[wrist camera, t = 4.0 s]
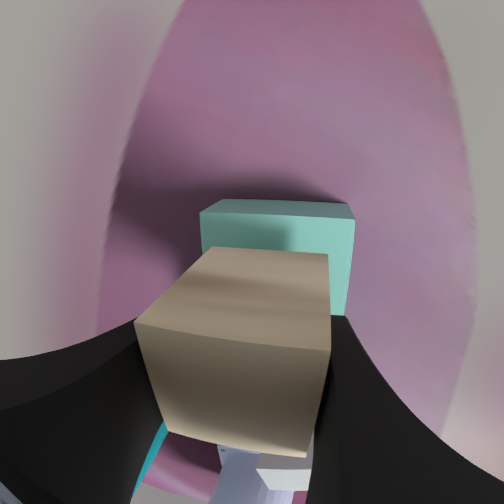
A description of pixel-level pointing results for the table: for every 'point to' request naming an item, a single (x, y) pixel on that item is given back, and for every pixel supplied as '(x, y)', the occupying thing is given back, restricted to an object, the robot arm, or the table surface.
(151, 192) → the table surface
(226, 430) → the birch block
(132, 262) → the table surface
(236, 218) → the teal block
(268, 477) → the grey block
